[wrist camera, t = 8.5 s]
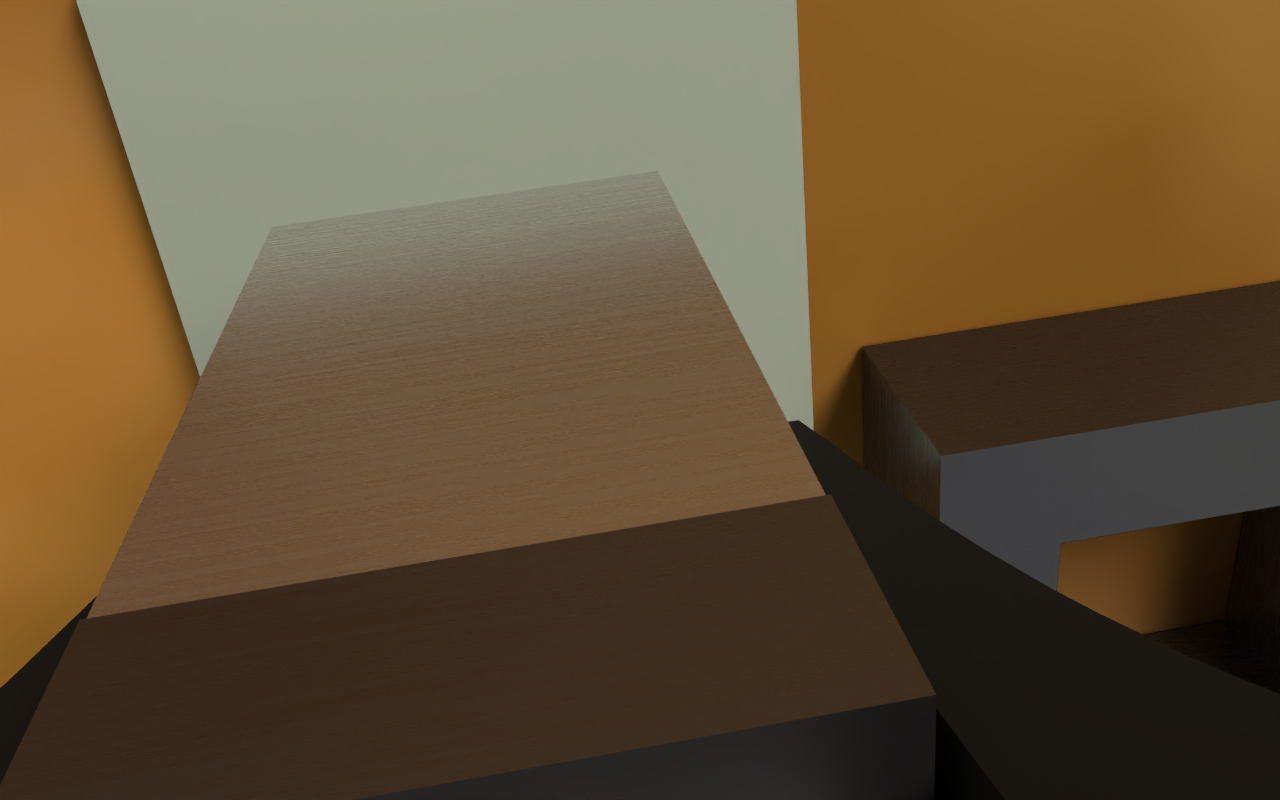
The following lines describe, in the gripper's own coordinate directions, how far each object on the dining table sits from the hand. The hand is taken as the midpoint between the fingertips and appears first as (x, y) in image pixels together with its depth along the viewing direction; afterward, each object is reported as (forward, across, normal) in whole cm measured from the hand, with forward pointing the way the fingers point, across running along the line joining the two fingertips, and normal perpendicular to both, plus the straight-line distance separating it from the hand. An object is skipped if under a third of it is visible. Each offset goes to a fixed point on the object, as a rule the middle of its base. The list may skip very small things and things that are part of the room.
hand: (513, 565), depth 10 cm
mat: (+8, 0, 0) cm, 8 cm away
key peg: (+3, 0, 0) cm, 3 cm away
